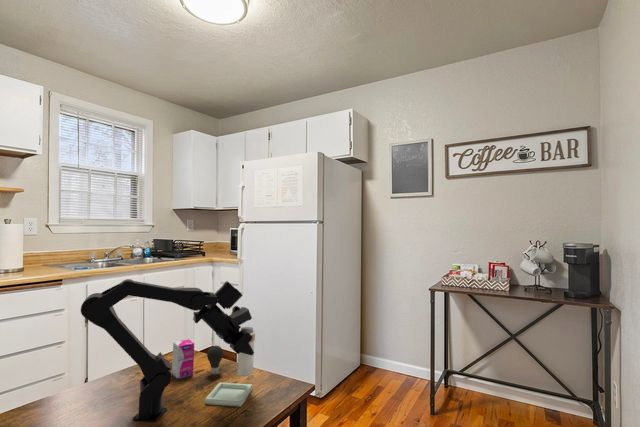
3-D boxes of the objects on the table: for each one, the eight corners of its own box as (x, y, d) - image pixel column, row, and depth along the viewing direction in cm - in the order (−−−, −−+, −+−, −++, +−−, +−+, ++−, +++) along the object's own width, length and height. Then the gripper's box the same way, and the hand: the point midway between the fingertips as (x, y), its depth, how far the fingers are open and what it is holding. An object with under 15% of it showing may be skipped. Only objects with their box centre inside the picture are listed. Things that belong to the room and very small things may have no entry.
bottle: (250, 376, 107) (253, 331, 108) (234, 376, 108) (236, 330, 108) (254, 370, 113) (256, 326, 113) (238, 369, 113) (241, 325, 114)
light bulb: (220, 377, 121) (220, 348, 121) (204, 377, 121) (205, 348, 121) (224, 371, 126) (225, 343, 127) (209, 370, 126) (210, 343, 127)
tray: (241, 406, 102) (241, 401, 102) (205, 404, 103) (205, 398, 103) (251, 389, 112) (252, 384, 113) (219, 387, 114) (219, 382, 114)
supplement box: (176, 380, 118) (177, 346, 119) (171, 374, 123) (172, 341, 123) (193, 375, 122) (194, 342, 123) (187, 370, 127) (189, 338, 127)
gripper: (247, 305, 101) (279, 339, 107) (227, 294, 117) (256, 324, 122) (219, 336, 97) (254, 369, 102) (202, 320, 112) (233, 350, 118)
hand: (249, 351), depth 111 cm, fingers closed on bottle, 5 cm apart
